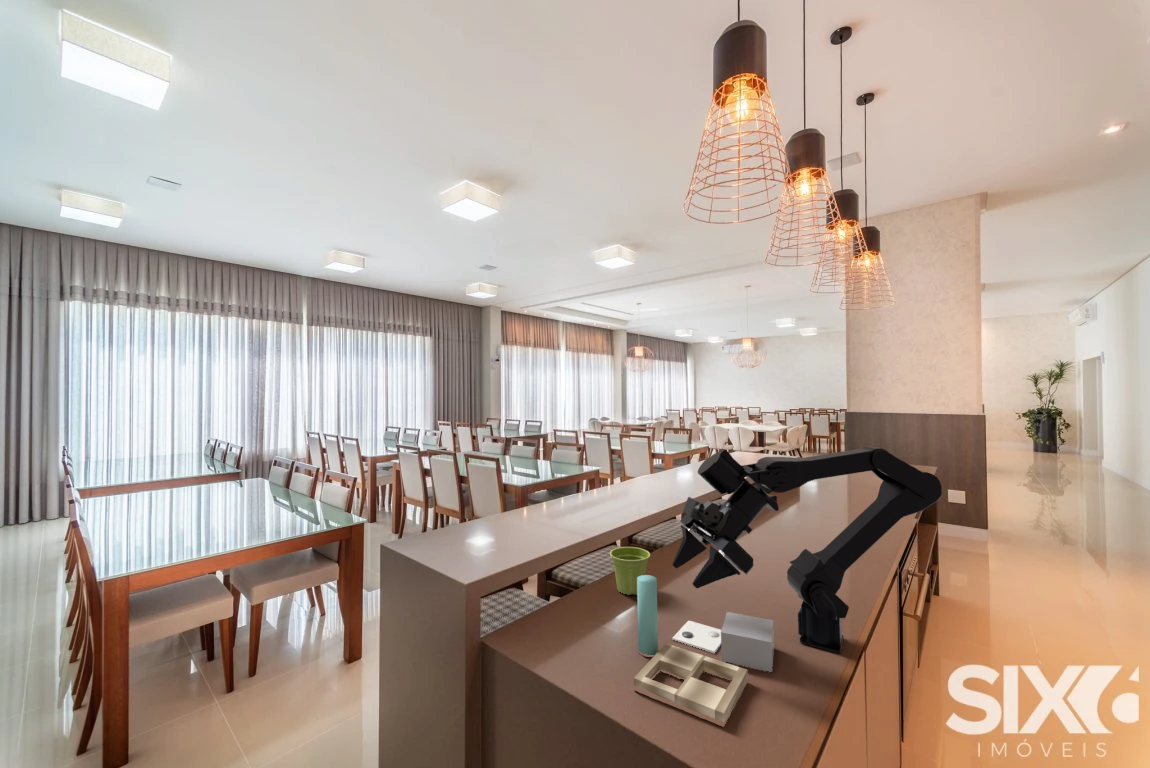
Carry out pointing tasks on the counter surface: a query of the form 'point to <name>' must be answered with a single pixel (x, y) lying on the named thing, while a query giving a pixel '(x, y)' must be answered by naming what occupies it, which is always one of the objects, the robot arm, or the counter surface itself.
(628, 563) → the plant pot
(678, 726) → the counter surface
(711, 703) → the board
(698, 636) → the pattern tile
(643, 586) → the pin
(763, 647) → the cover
